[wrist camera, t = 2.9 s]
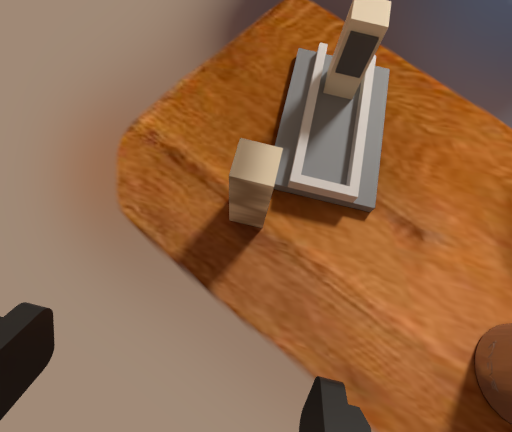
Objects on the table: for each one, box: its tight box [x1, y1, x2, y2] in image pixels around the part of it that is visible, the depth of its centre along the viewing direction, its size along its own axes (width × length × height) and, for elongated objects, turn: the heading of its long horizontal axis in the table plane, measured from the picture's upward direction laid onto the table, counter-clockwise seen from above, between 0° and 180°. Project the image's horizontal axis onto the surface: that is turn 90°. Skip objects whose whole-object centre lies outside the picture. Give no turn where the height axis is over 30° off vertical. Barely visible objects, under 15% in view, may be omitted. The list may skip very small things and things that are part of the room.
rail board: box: [274, 0, 391, 212], centre depth 35 cm, size 12×20×11 cm, turn 167°
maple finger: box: [229, 138, 283, 228], centre depth 31 cm, size 4×4×10 cm
